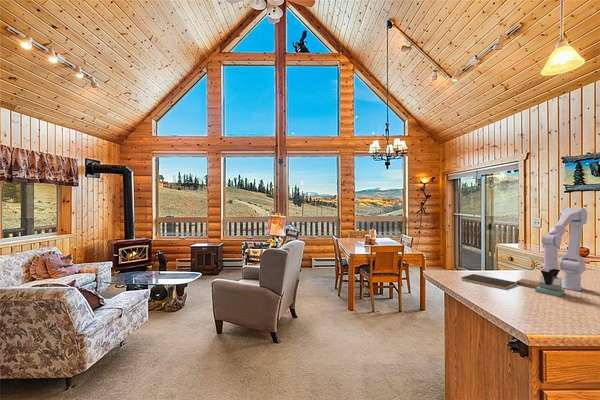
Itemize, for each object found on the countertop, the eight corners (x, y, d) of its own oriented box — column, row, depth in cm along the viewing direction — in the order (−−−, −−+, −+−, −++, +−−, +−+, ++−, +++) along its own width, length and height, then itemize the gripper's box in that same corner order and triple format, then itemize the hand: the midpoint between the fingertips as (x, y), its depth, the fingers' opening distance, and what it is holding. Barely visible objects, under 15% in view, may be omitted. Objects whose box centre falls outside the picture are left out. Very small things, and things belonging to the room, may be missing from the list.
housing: (561, 289, 163) (561, 278, 163) (559, 291, 161) (559, 279, 161) (542, 286, 170) (542, 274, 170) (539, 287, 167) (540, 276, 167)
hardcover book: (504, 290, 169) (504, 286, 169) (460, 281, 187) (460, 277, 187) (516, 286, 179) (516, 282, 179) (473, 277, 197) (473, 273, 197)
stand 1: (522, 282, 186) (522, 278, 186) (543, 285, 178) (543, 282, 178) (516, 284, 180) (516, 281, 180) (537, 288, 172) (537, 285, 172)
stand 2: (541, 288, 172) (541, 284, 172) (564, 293, 165) (564, 289, 165) (535, 291, 166) (535, 287, 166) (559, 296, 158) (559, 292, 158)
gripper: (545, 255, 173) (544, 280, 173) (537, 257, 164) (536, 284, 164) (561, 257, 167) (561, 283, 167) (554, 260, 158) (553, 287, 158)
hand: (550, 283), depth 165 cm, fingers open, 7 cm apart
